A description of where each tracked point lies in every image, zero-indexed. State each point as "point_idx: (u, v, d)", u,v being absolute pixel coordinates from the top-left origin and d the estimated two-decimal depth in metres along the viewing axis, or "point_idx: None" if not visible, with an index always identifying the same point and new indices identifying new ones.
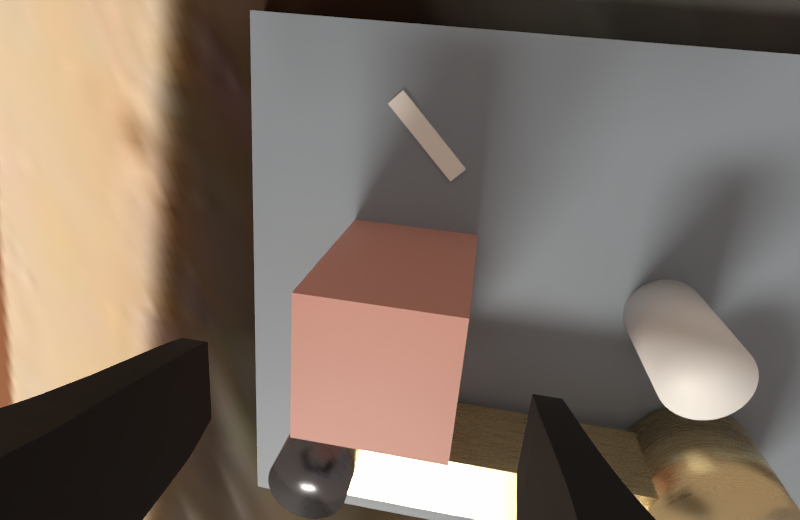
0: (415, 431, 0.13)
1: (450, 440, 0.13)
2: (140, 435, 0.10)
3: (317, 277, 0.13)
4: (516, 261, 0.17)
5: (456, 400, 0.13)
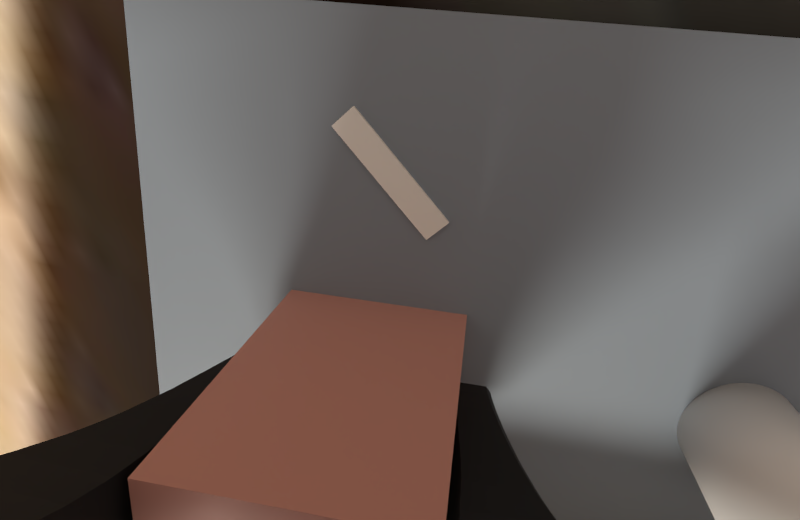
0: None
1: None
2: None
3: (190, 430, 0.08)
4: (522, 353, 0.12)
5: None
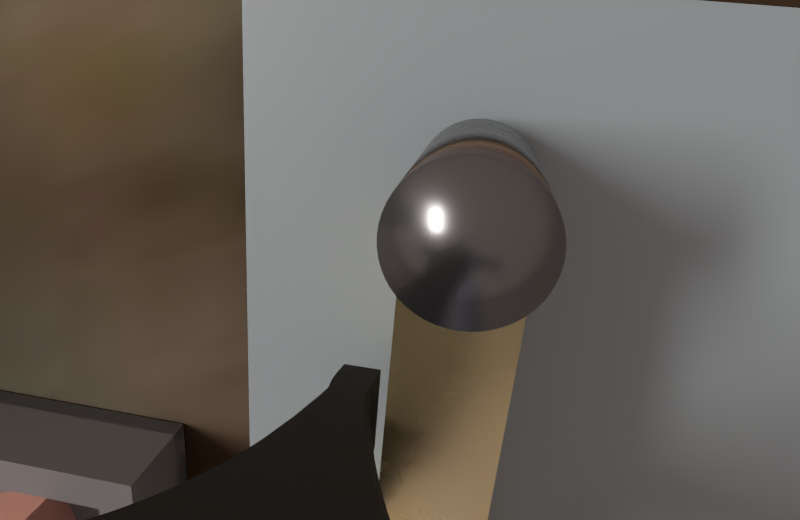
0: None
1: None
2: None
3: None
4: (724, 441, 0.12)
5: None
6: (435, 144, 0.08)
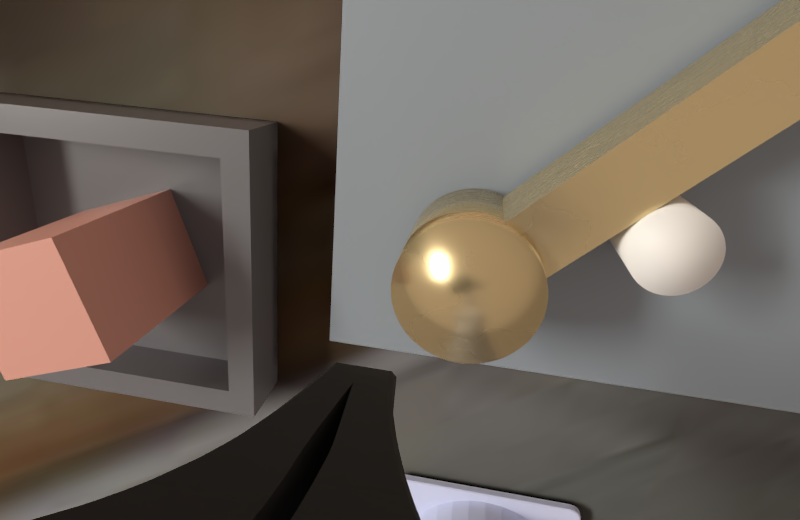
0: (13, 352, 0.17)
1: (23, 376, 0.17)
2: None
3: (81, 236, 0.16)
4: None
5: (53, 371, 0.17)
6: None
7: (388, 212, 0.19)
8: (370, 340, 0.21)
